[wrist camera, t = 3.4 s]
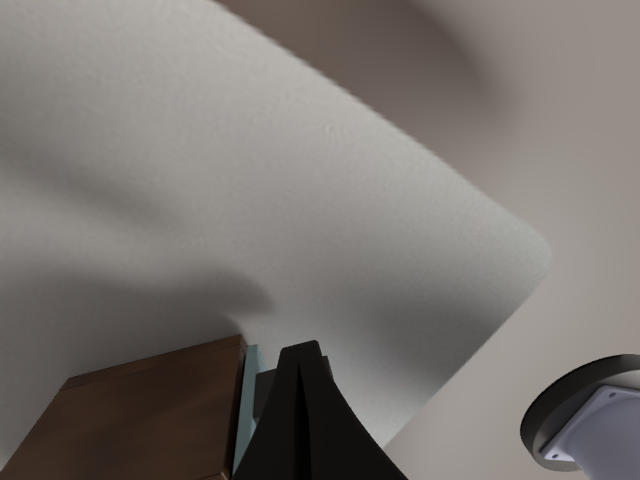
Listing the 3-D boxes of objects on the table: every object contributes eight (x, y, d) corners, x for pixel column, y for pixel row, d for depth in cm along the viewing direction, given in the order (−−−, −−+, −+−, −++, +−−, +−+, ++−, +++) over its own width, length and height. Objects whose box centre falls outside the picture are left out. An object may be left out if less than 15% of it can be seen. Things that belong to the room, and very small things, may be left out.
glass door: (321, 327, 17) (344, 445, 11) (344, 410, 20) (371, 536, 14) (246, 346, 17) (231, 476, 11) (281, 426, 20) (283, 560, 14)
